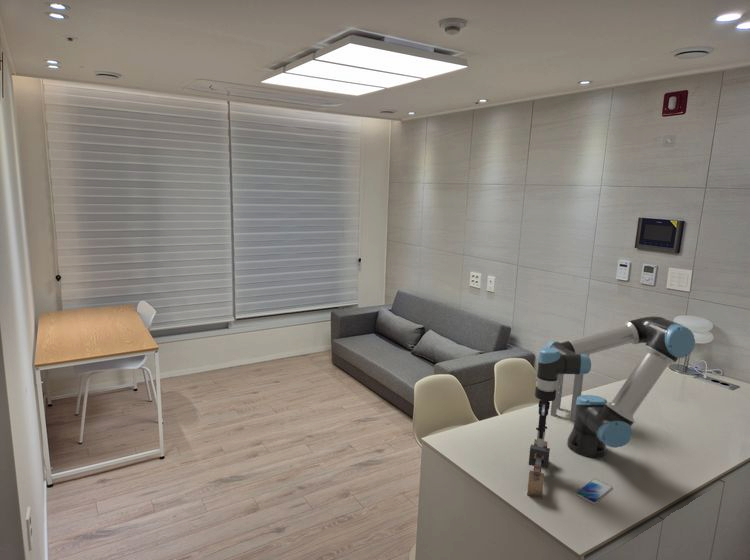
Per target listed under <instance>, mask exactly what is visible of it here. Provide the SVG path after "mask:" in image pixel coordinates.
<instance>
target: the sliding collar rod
mask: <svg viewBox="0 0 750 560" xmlns="http://www.w3.org/2000/svg"><path fill="white" fill-rule="evenodd" d="M548 442H549V441H546V440H544V446H540V447H545V448H548ZM536 443H537V438H536V439H534V442H533V445H536ZM536 446H539V445H536ZM534 458H536V462H535V465H534V466H533V470H529V474H528V483H527V485H528V486H527V494H526V495H527V496H529V495H530V497H534V498H538V499H543V492H544V482H545V481H544V480H545V473H542V469H543V468H542V467H541V461H542V460H544V455H540V454H535V456H534Z"/></svg>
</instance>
